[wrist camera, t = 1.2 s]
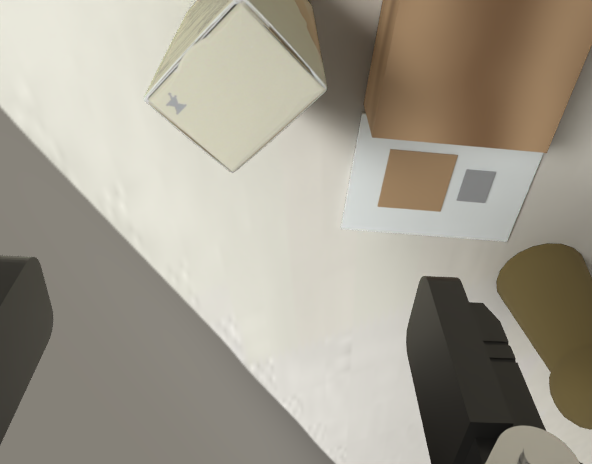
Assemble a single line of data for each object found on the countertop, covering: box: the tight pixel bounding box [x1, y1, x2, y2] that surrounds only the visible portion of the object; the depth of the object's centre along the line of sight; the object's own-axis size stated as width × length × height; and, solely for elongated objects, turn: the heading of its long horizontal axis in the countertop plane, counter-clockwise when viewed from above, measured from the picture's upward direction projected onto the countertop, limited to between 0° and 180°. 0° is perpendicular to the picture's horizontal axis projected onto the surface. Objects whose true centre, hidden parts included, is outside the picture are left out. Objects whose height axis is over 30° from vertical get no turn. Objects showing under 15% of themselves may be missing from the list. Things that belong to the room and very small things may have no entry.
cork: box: [496, 243, 592, 429], centre depth 34 cm, size 6×6×11 cm
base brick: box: [364, 0, 592, 153], centre depth 27 cm, size 9×9×4 cm
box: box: [144, 0, 327, 172], centre depth 23 cm, size 5×4×11 cm
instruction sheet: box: [341, 113, 543, 242], centre depth 34 cm, size 11×8×1 cm
